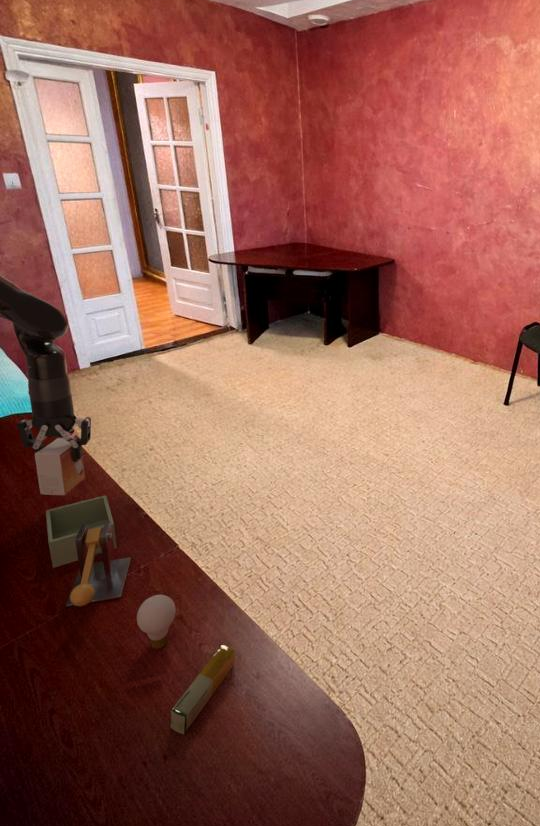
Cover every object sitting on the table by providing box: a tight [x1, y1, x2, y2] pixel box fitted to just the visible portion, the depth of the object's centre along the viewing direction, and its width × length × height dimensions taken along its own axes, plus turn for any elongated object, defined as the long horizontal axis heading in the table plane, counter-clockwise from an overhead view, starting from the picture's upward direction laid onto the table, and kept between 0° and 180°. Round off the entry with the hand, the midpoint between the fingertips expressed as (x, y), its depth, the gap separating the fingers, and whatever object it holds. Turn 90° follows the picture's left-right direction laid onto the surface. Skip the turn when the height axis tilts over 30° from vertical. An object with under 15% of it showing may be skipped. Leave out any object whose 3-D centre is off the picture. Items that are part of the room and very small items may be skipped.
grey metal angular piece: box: [65, 522, 132, 609], centre depth 93 cm, size 11×9×13 cm
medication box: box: [169, 643, 236, 736], centre depth 75 cm, size 12×3×4 cm, turn 162°
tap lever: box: [69, 528, 102, 607], centre depth 88 cm, size 14×4×4 cm, turn 17°
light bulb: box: [136, 594, 177, 650], centre depth 82 cm, size 6×6×10 cm
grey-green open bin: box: [45, 495, 118, 569], centre depth 105 cm, size 12×11×7 cm
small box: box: [34, 437, 86, 496], centre depth 111 cm, size 8×6×10 cm
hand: (60, 460), depth 111 cm, fingers closed on small box, 6 cm apart
